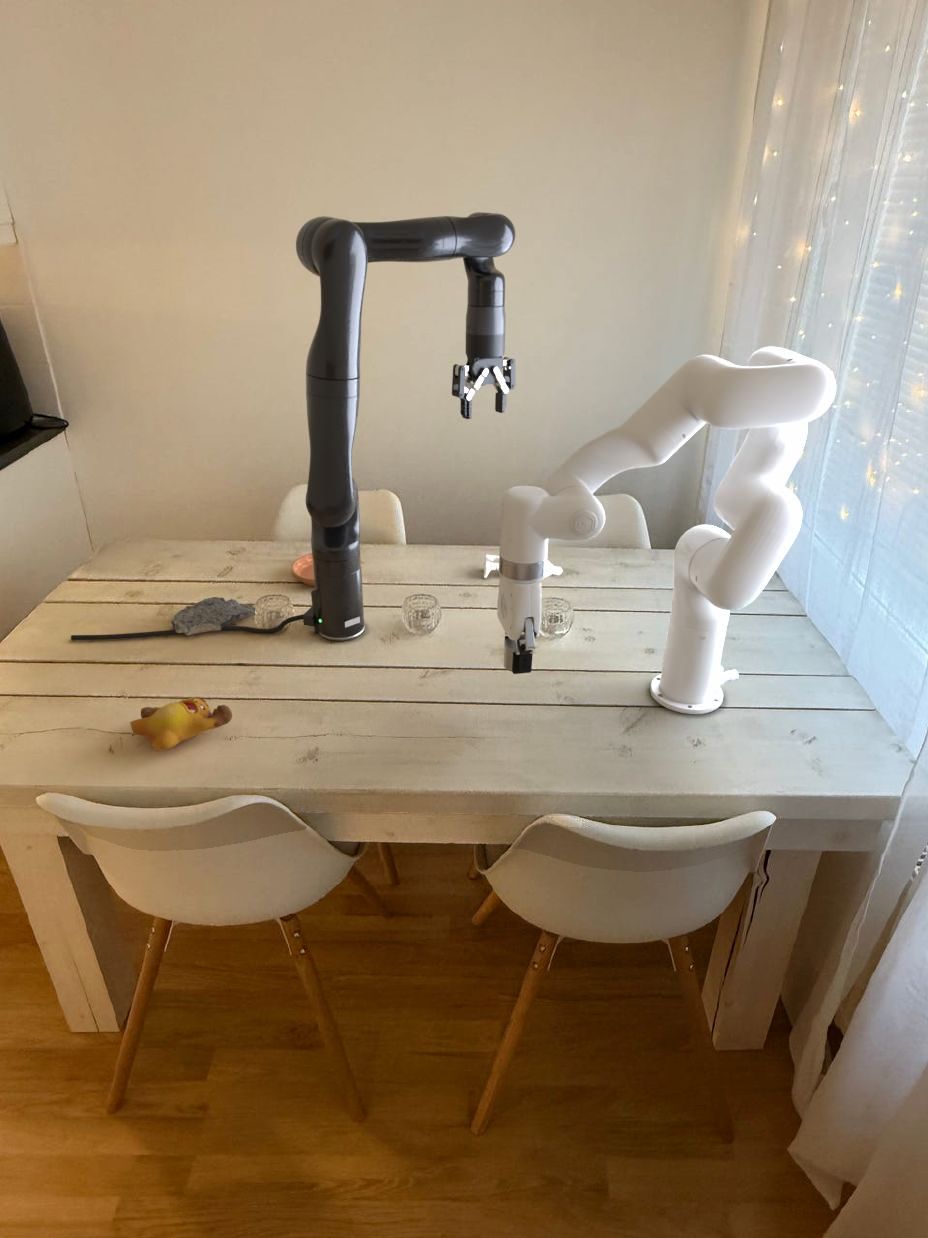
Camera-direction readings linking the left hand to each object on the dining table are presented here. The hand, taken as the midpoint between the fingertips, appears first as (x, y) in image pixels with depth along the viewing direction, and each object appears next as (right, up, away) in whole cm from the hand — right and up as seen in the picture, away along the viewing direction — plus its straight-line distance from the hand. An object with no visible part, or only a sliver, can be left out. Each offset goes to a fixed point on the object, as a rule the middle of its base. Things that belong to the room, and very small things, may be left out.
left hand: (483, 415), depth 162 cm
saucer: (-35, -31, +25) cm, 53 cm away
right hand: (+5, -48, -26) cm, 55 cm away
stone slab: (-56, -41, +5) cm, 70 cm away
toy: (-50, -60, -29) cm, 83 cm away
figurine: (+10, -30, +27) cm, 42 cm away
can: (+5, -48, -26) cm, 55 cm away
